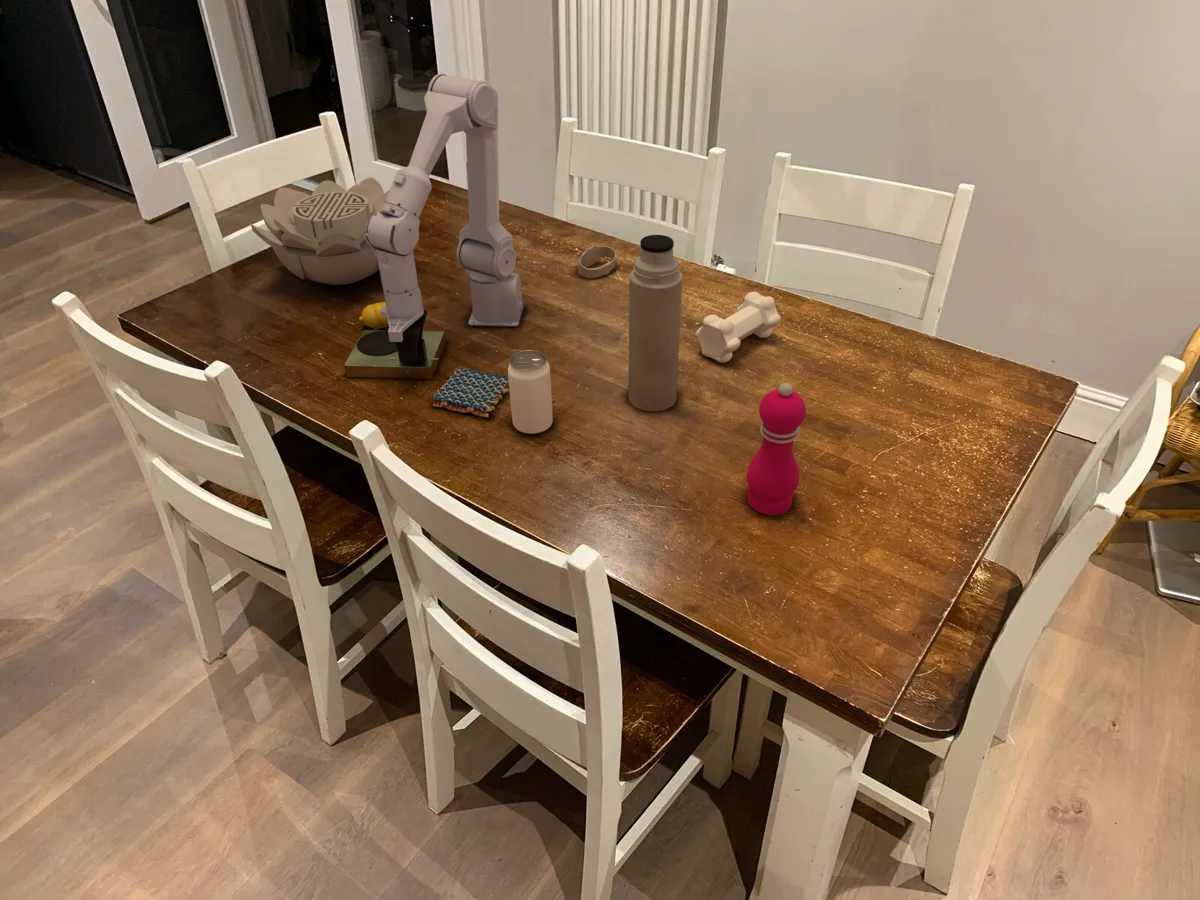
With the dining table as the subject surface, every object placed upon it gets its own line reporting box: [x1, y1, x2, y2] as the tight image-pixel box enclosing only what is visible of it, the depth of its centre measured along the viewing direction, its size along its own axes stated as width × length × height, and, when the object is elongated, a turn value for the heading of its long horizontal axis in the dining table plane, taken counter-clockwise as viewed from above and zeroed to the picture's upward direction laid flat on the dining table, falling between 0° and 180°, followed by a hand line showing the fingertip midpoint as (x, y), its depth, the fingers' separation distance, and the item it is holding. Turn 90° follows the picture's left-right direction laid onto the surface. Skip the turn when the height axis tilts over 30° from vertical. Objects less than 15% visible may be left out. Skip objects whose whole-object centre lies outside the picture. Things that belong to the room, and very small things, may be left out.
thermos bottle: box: [627, 234, 683, 412], centre depth 134 cm, size 8×8×28 cm
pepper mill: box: [746, 382, 807, 516], centre depth 116 cm, size 7×7×20 cm
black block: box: [397, 339, 427, 361], centre depth 148 cm, size 5×2×4 cm, turn 86°
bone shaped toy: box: [694, 291, 782, 364], centre depth 153 cm, size 15×9×8 cm, turn 135°
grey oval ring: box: [577, 244, 617, 279], centre depth 178 cm, size 9×6×5 cm
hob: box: [343, 329, 447, 380], centre depth 152 cm, size 16×14×3 cm
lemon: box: [358, 301, 389, 330], centre depth 162 cm, size 8×4×4 cm, turn 116°
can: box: [507, 349, 554, 435], centre depth 134 cm, size 6×6×12 cm
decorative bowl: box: [250, 176, 389, 286], centre depth 176 cm, size 30×30×15 cm
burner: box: [356, 329, 397, 356], centre depth 153 cm, size 8×8×1 cm
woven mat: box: [432, 366, 510, 419], centre depth 143 cm, size 10×11×2 cm
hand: (412, 356), depth 149 cm, fingers open, 3 cm apart
